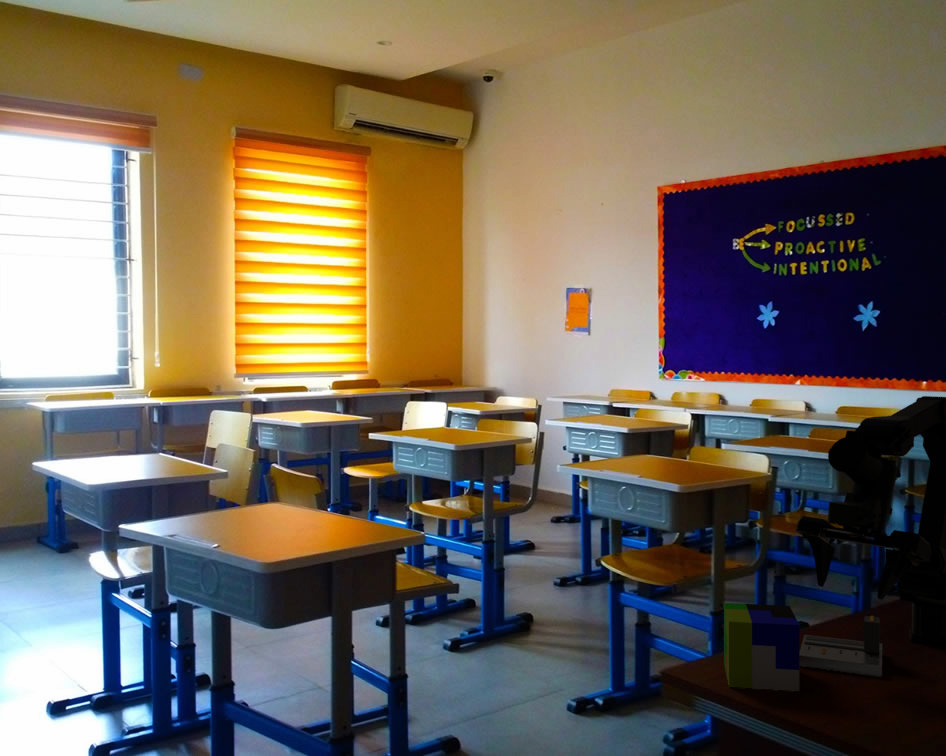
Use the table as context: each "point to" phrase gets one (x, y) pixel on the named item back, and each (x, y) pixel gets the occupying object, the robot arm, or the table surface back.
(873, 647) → the fader knob
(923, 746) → the table surface
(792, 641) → the puzzle toy
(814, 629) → the table surface
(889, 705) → the table surface
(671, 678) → the table surface
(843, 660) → the console plate
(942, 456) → the robot arm
